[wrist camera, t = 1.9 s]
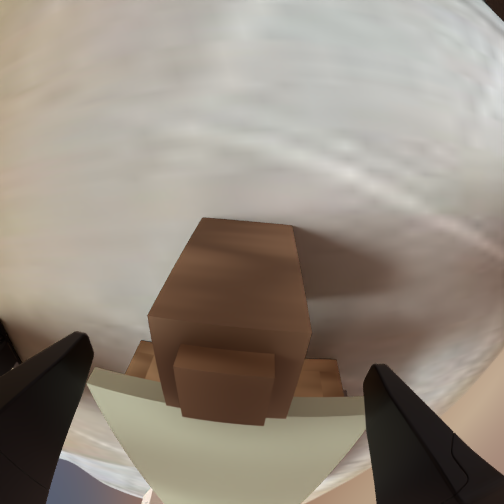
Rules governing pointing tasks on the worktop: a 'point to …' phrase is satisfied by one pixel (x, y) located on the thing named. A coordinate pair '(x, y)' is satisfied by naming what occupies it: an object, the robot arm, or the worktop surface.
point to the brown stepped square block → (232, 323)
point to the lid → (227, 444)
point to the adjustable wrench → (497, 7)
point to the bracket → (151, 498)
